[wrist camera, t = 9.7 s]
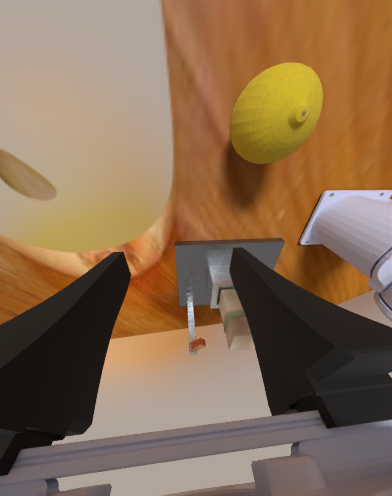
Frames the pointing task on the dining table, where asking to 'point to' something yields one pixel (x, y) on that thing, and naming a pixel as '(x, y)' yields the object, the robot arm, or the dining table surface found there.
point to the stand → (213, 272)
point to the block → (235, 321)
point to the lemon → (276, 113)
